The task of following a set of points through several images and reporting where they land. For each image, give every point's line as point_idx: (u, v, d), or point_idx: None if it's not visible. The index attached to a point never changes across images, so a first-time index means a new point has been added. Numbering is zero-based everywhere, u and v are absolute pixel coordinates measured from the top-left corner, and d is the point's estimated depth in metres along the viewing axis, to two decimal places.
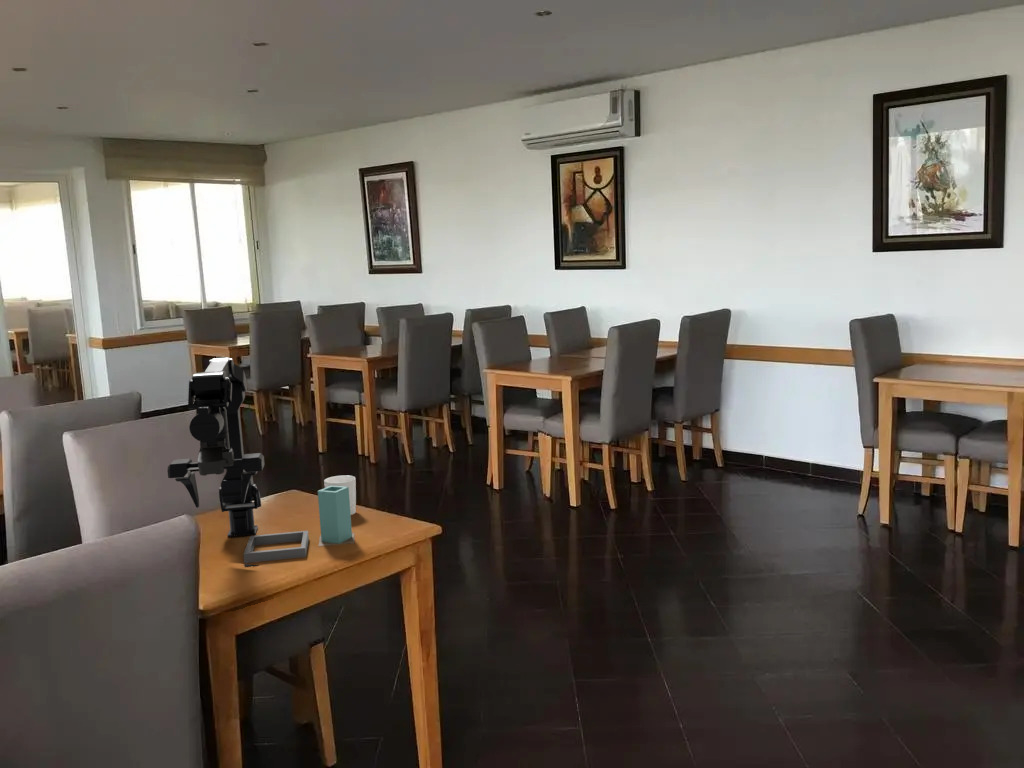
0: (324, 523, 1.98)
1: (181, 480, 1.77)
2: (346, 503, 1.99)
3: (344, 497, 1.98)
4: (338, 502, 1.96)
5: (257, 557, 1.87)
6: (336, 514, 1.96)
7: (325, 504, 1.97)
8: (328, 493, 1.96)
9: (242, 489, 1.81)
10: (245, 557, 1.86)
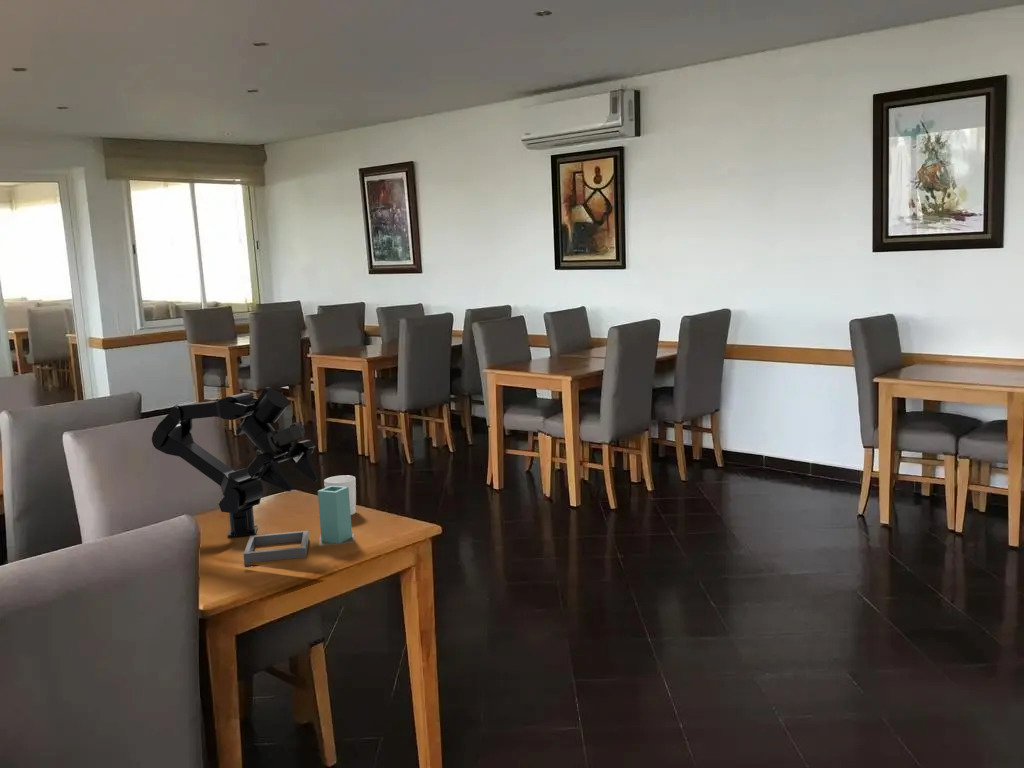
0: (324, 523, 1.98)
1: (273, 462, 1.96)
2: (346, 503, 1.99)
3: (344, 497, 1.98)
4: (338, 502, 1.96)
5: (257, 557, 1.87)
6: (336, 514, 1.96)
7: (325, 504, 1.97)
8: (328, 493, 1.96)
9: (311, 467, 2.06)
10: (245, 557, 1.86)
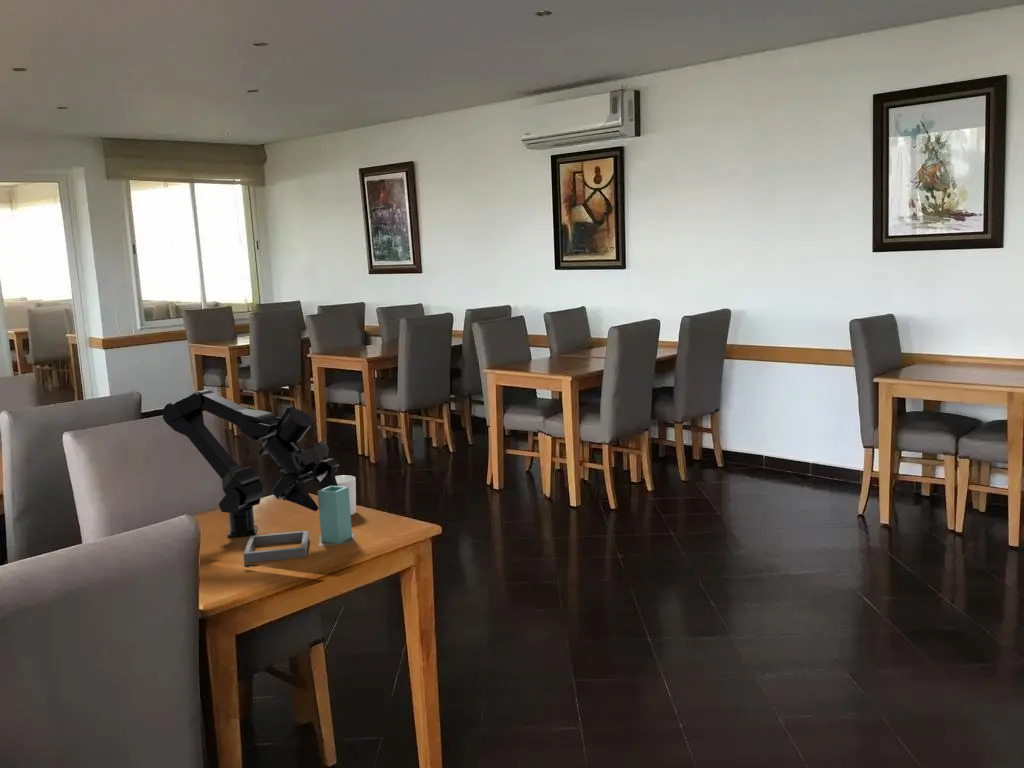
0: (324, 523, 1.98)
1: (299, 482, 1.94)
2: (346, 503, 1.99)
3: (344, 497, 1.98)
4: (338, 502, 1.96)
5: (257, 557, 1.87)
6: (336, 514, 1.96)
7: (325, 504, 1.97)
8: (328, 493, 1.96)
9: (335, 485, 2.04)
10: (245, 557, 1.86)
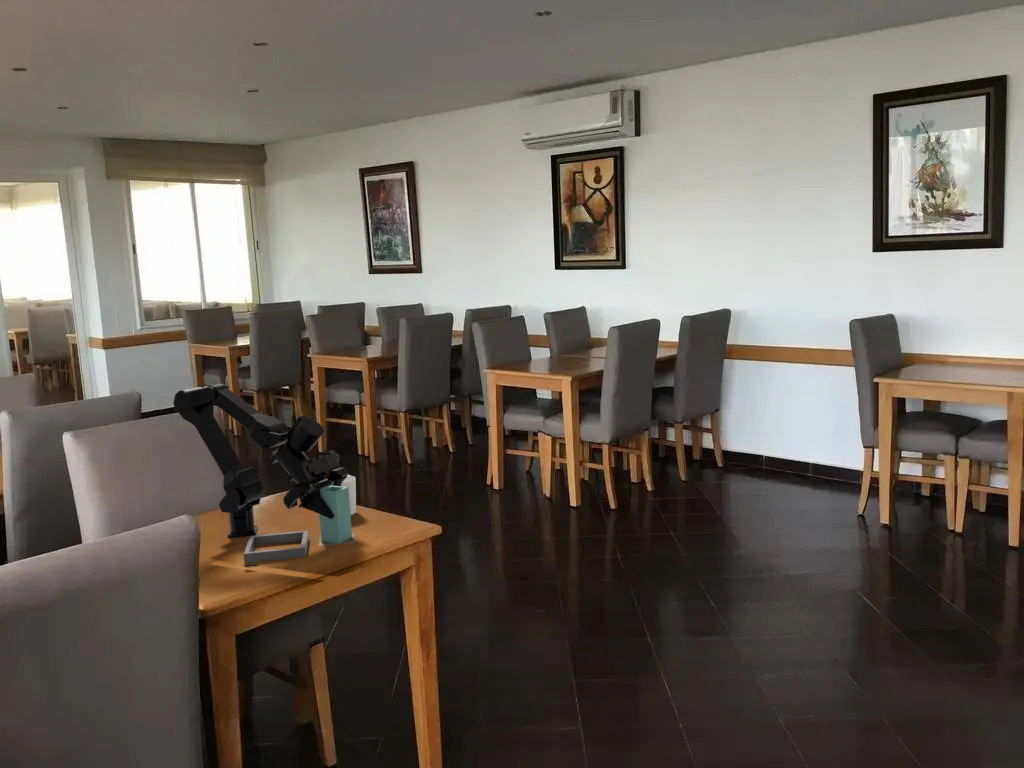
0: (324, 523, 1.98)
1: (315, 490, 1.94)
2: (346, 503, 1.99)
3: (344, 497, 1.98)
4: (338, 502, 1.96)
5: (257, 557, 1.87)
6: (336, 514, 1.96)
7: None
8: (328, 493, 1.96)
9: None
10: (245, 557, 1.86)
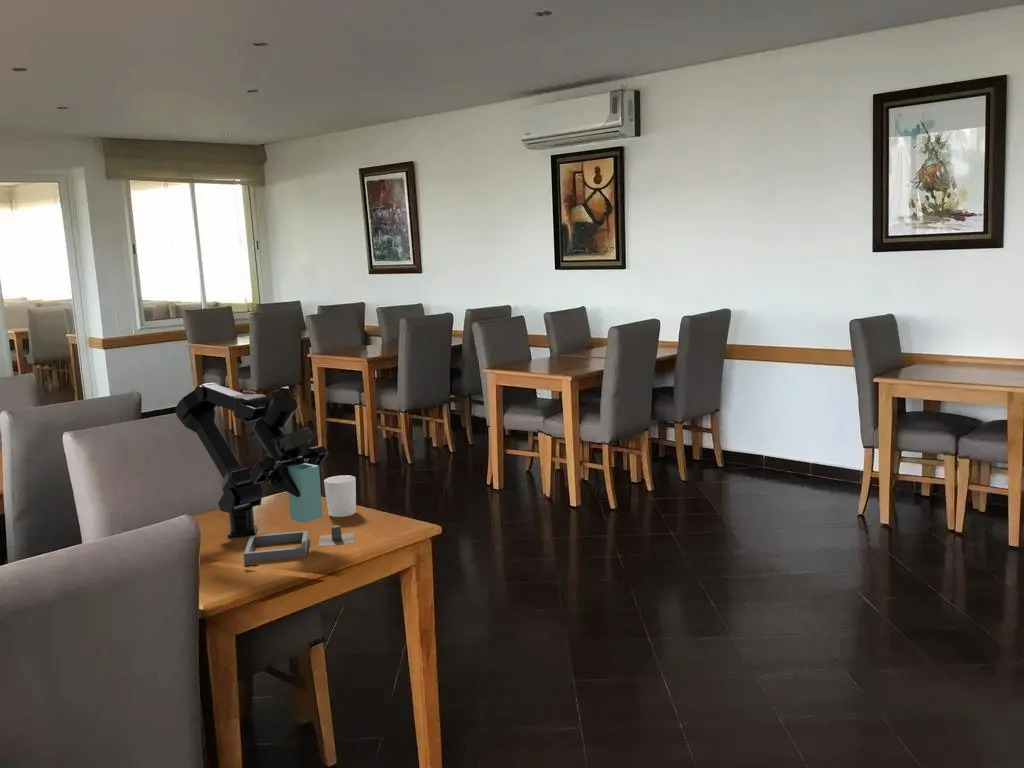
0: (293, 501, 1.94)
1: (281, 467, 1.91)
2: (315, 482, 1.94)
3: (313, 476, 1.93)
4: (304, 480, 1.91)
5: (257, 557, 1.87)
6: (302, 493, 1.91)
7: None
8: (295, 471, 1.91)
9: None
10: (245, 557, 1.86)
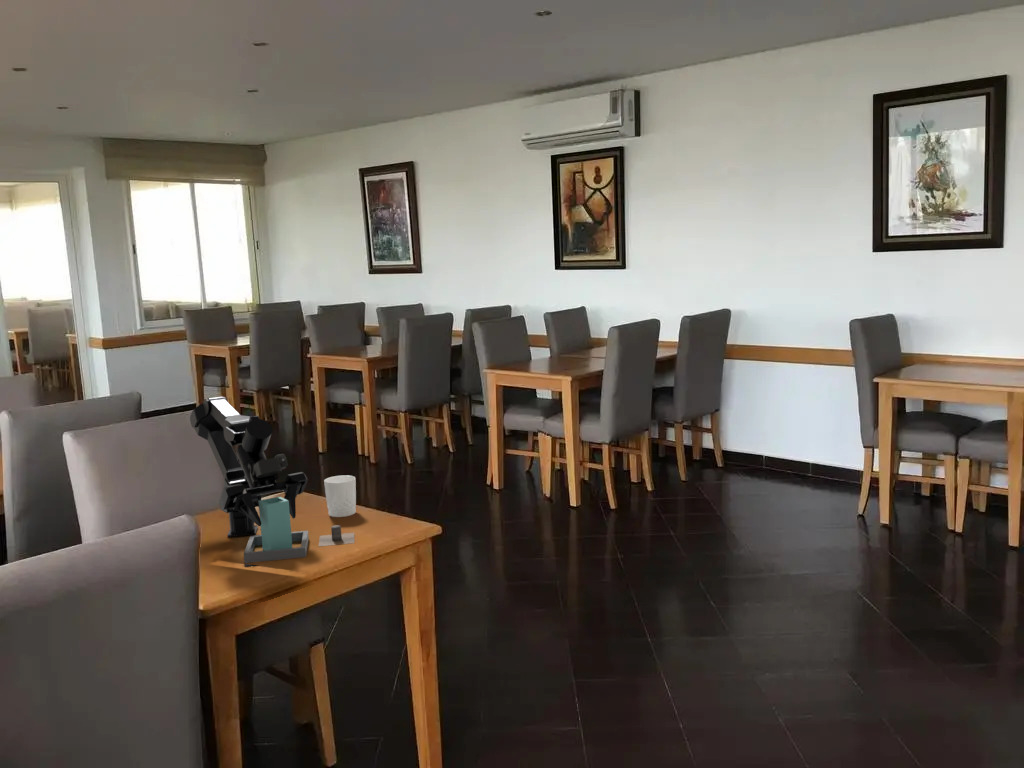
0: (263, 535, 1.93)
1: (243, 495, 1.89)
2: (284, 517, 1.92)
3: (281, 511, 1.91)
4: (271, 515, 1.90)
5: (257, 557, 1.87)
6: (268, 527, 1.90)
7: (262, 515, 1.92)
8: (263, 505, 1.90)
9: (291, 502, 1.95)
10: (245, 557, 1.86)
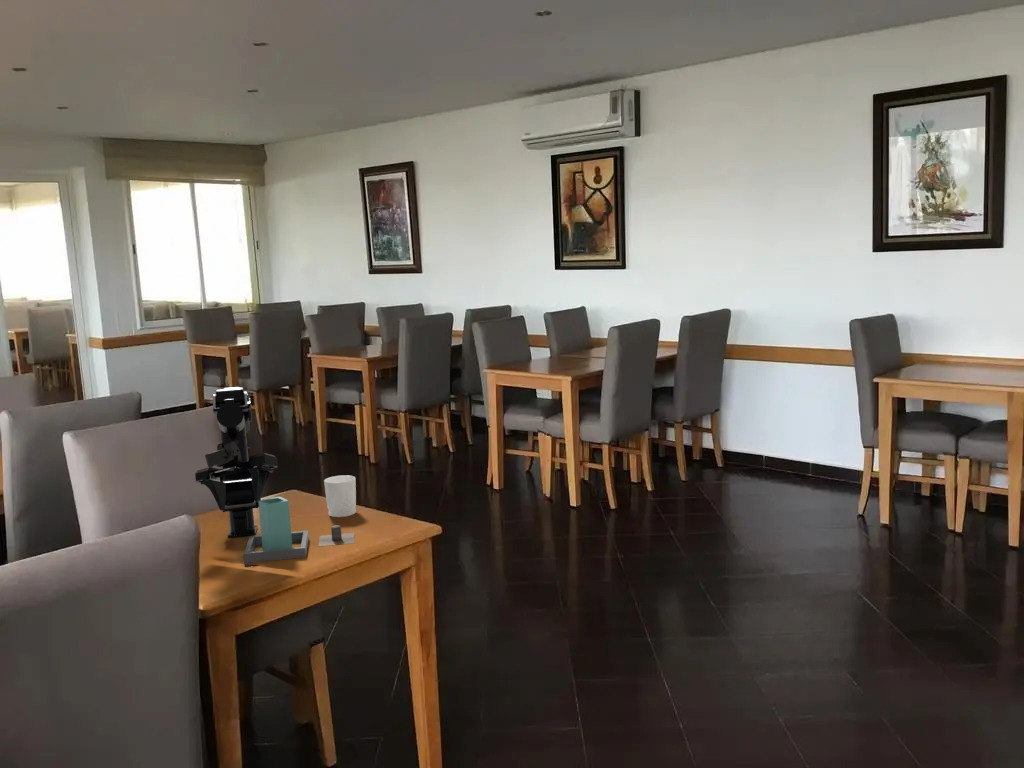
0: (263, 535, 1.93)
1: (204, 482, 1.97)
2: (284, 517, 1.92)
3: (281, 511, 1.91)
4: (271, 515, 1.90)
5: (257, 557, 1.87)
6: (268, 527, 1.90)
7: (262, 515, 1.92)
8: (263, 505, 1.90)
9: (253, 486, 1.94)
10: (245, 557, 1.86)
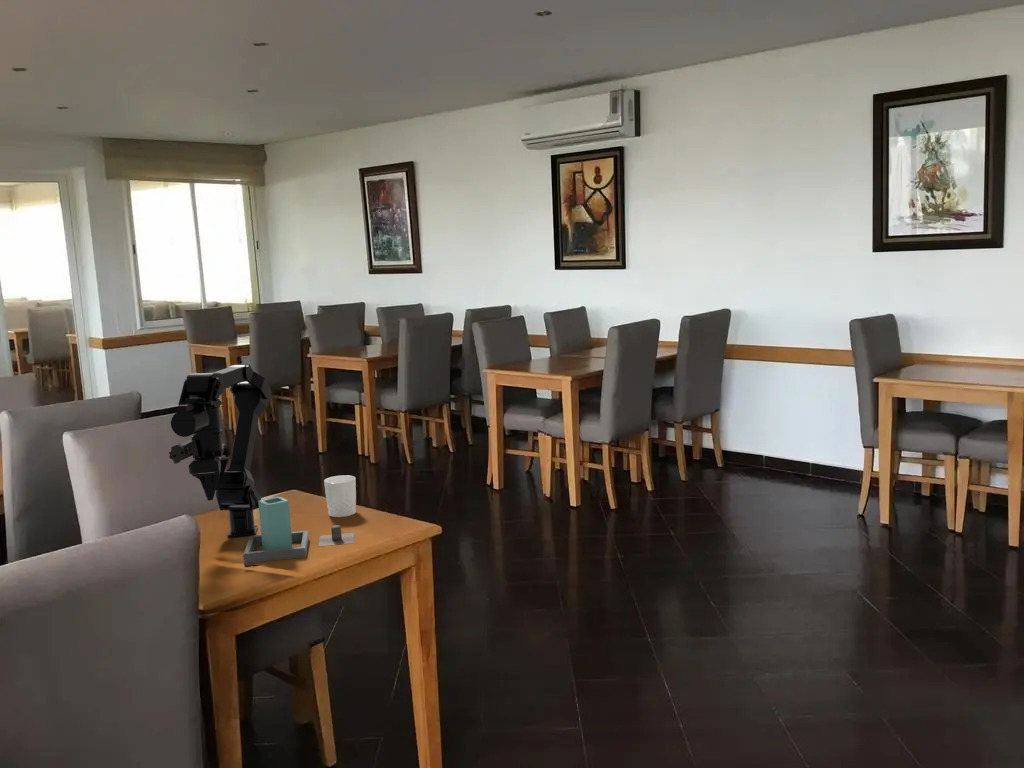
0: (263, 535, 1.93)
1: None
2: (284, 517, 1.92)
3: (281, 511, 1.91)
4: (271, 515, 1.90)
5: (257, 557, 1.87)
6: (268, 527, 1.90)
7: (262, 515, 1.92)
8: (263, 505, 1.90)
9: None
10: (245, 557, 1.86)
